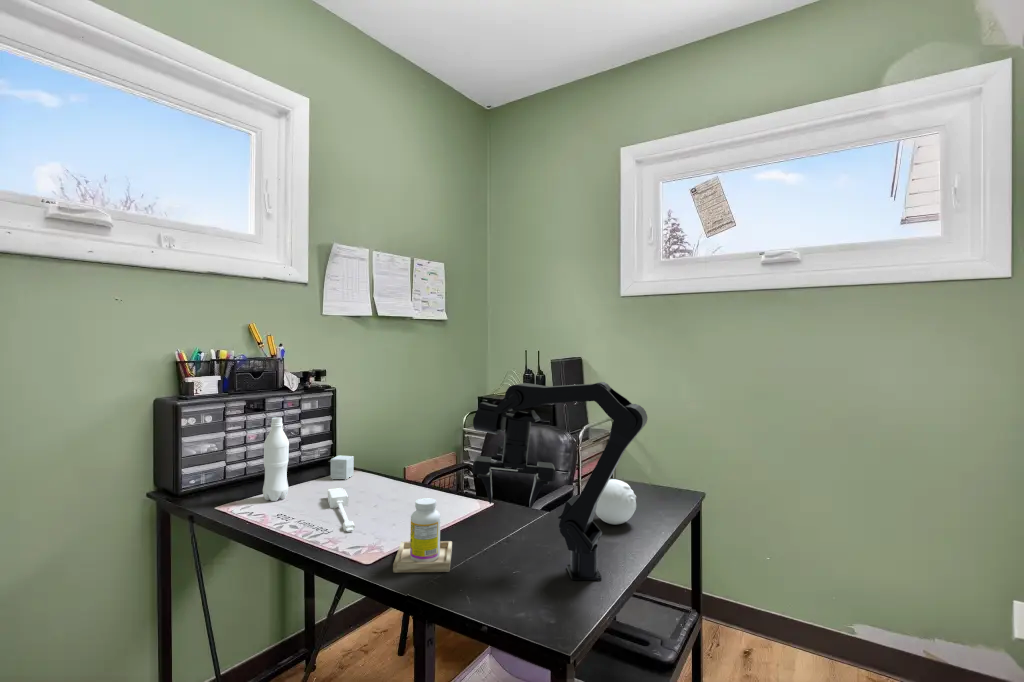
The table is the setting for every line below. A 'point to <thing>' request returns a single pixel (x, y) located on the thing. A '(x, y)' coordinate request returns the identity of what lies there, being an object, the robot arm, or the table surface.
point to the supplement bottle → (425, 531)
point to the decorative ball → (616, 502)
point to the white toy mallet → (340, 505)
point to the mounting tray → (408, 565)
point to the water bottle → (276, 462)
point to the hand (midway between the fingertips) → (510, 505)
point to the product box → (342, 467)
